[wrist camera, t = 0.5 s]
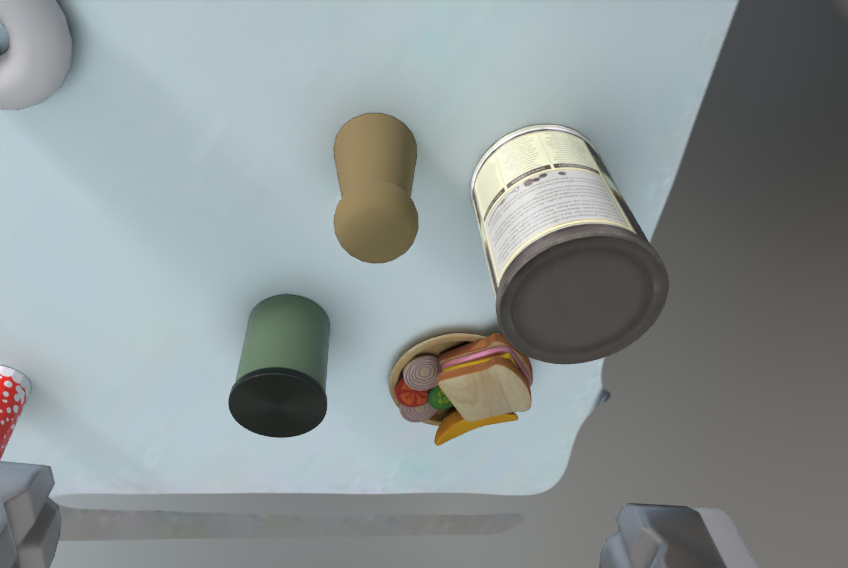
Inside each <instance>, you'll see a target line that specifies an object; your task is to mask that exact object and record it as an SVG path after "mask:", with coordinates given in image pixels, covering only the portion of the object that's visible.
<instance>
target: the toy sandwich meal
mask: <svg viewBox="0 0 848 568" xmlns="http://www.w3.org/2000/svg"><path fill="white" fill-rule="evenodd" d="M532 380H533V375H532V367H531V363H530V361H529V359H528V357H527V356H526V355H524V354H522V353H521V352H519V351H518V350H517V349H515V348H514V347H513V346H512V345H511V344H510V343H509V342H508V341H507V340H506V338H505V337H504V335H502V334H500V333H493V334H491V335H490V336H489V337H485V336H481V335H476V334H466V333H452V334H445V335H441V336H437V337H434V338H431V339H428V340H426V341H423V342H421V343H419V344H418V345H416V346H414V347H413V348H411V349H410V350H409V351H407V352H406V353H405V354H404V355H403V356H402V357H401V358H400V359H399V360H398V361H397V363H396V364H395V366H394V368H393V370H392V372H391V375H390V380H389V389H390V393H391V396H392V399H393V400H394V402H395V404H396V405H397V406H398V407H399V409H400V413H401V415H402V417H403V418H404V419H406V420H407V421H409V422H423V423H427V424H431V425H437V426H439V428H438V430H437V433H436V436H435V444H436V445H437V446H439V445H441V444H443V443H445V442H447V441H449V440H451V439H453V438H455V437H457V436H459V435H462V434H464V433H466V432H468V431H470V430H473V429H475V428H478V427H482V426H485V425H490V424H496V423H502V422H508V421H514V420H518V416H517V415H516V414H515V413H514V412H517V411H519V412H524V411H527V410H529V409H530V407H531V391H530V386H531V385H532Z"/></svg>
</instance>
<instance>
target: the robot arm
mask: <svg viewBox="0 0 848 568" xmlns="http://www.w3.org/2000/svg"><path fill="white" fill-rule="evenodd" d="M54 484H55V482H54V478H53V474H52V469H51V466H46V465H38V464H27V463H16V462H5V461H0V568H49V567H50V565H51V563H52V560H53V558H54V556H55V552H56V548H57V544H58V540H59V537H60V527H61V516H60V509H59V506H58V505H57V504H56V503H55V502H54V501H53V500H51V499H50V498H49V497H48V496H49V494H50V492H51V490H52V488H53V486H54ZM616 521H617V524H618V527H619V531H617V532H616V533H614V534H612V535H611V536H609V537H608V538H606V541H605V543H604V545H603V548H602V550H601V553H600V564H599V568H759V566H758V564H757V562H756V561H755V559H754V557H753V555H752V553H751V551H750V550H749V548H748V546H747V545H746V542H745V541H744V539H743V537H742V535H741V533H740V532H739V530H738V528H737V526H736V524H735V522H734V521H733V519H732V517H731V516H730V515H729V514H728V513H727V512H726V511H725V510H723V509H712V508H697V507H687V506H672V505H654V504H635V503H628V504H626V505H625V506H623V507H622V508H621V510H620V512H619V514H618V516H617V517H616Z"/></svg>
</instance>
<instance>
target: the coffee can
mask: <svg viewBox="0 0 848 568" xmlns="http://www.w3.org/2000/svg"><path fill="white" fill-rule="evenodd" d="M471 202H472V205H473V208H474V211H475V213H476V218H477V222H478V226H479V231H480V235H481V239H482V243H483V248H484V252H485V256H486V260H487V265H488V269H489V274H490V278H491V283H492V287H493V291H494V295H495V300H496V313H497V319H498V323H499V327H500V329H501V331H502V333H503V335H504V337H505V338H506V340H507V341H508V342H509V343H510V344H511V345H512V346H513V347H514V348H515V349H517V350H518V351H519V352H521V353H522V354H524V355H526V356H528V357H531V358H533V359H536V360H540V361H543V362H547V363H554V364H576V363H584V362H589V361H593V360H597V359H600V358H603V357H606V356H609V355H612V354H614V353H616V352H618V351H620V350H622V349H624V348H625V347H627V346H629V345H630V344H632V343H633V342H634V341H636V340H637V339H638V338H640V337H641V336H642V335H643V334H644V333H645V332H646V331H647V330H648V329H649V328H650V327H651V326H652V325H653V324H654V322H655V321H656V320H657V318H658V316H659V315H660V313H661V311H662V309H663V307H664V305H665V302H666V298H667V294H668V288H669V286H668V285H669V284H668V275H667V271H666V268H665V266H664V263H663V261H662V260H661V258H660V256H659V255H658V254H657V252H656V251H655V249H654V248H653V247H652V246H651V245H650V243H649V242H648V240H647V238H646V237H645V235H644V233H643V231H642V230H641V228H640V226H639V224H638V223H637V221H636V219H635V217H634V216H633V214H632V212H631V211H630V209H629V207H628V206H627V204H626V202H625V200H624V199H623V197H622V195H621V194H620V192H619V190H618V188H617V187H616V185H615V183H614V181H613V180H612V178H611V176H610V174H609V172H608V171H607V169H606V167H605V166H604V164H603V162H602V160H601V157H600V155H599V153H598V151H597V150H596V148H595V147H594V145H593V144H592V143H591V142H590V141H589V140H588V139H587V138H586V137H584V136H583V135H582V134H580V133H578V132H577V131H575V130H572V129H569V128H566V127H563V126H558V125H535V126H528V127H525V128H522V129H520V130H518V131H514V132H512V133H510V134H508V135H506V136H505V137H503V138H502V139H500V140H499V141H498V142H496V143H495V144H494V145H493V146H492V147H491V148H490V149H489V150H488V151H487V152H486V153H485V155H484V156H483V157H482V158H481V160H480V162H479V164H478V165H477V167H476V169H475V172H474V174H473V177H472V182H471Z"/></svg>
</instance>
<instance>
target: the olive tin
mask: <svg viewBox="0 0 848 568" xmlns="http://www.w3.org/2000/svg"><path fill="white" fill-rule="evenodd" d="M329 335H330V323H329V319H328V317H327V315H326V313H325V312H324V311H323V309H322V308H321V307H320V306H318V305H317V304H316V303H314V302H312V301H311V300H308V299H306V298H303V297H299V296H294V295H279V296H274V297H271V298H268V299H266V300H264V301H262V302H260V303H259V304H258V305H257V306H256V307H255V308H254V309H253V311H252V312H251V314H250V317H249V321H248V326H247V330H246V335H245V340H244V344H243V349H242V354H241V358H240V363H239V367H238V372H237V377H236V381H235V384H234V385H233V387H232V389H231V392H230V396H229V409H230V412H231V414H232V416H233V417H234V419H235V420H236V421H237V422H238V423H239V424H240V425H241V426H243V427H244V428H246V429H248V430H250V431H252V432H254V433H257V434H260V435H264V436H269V437H278V438H284V437H293V436H298V435H301V434H304V433H307V432H309V431H311V430H312V429H314V428H315V427H317V426H318V425H319V424H320V423H321V422H322V420H323V419H324V417H325V415H326V411H327V396H326V393H325V391H326V377H327V363H328V349H329Z"/></svg>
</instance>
